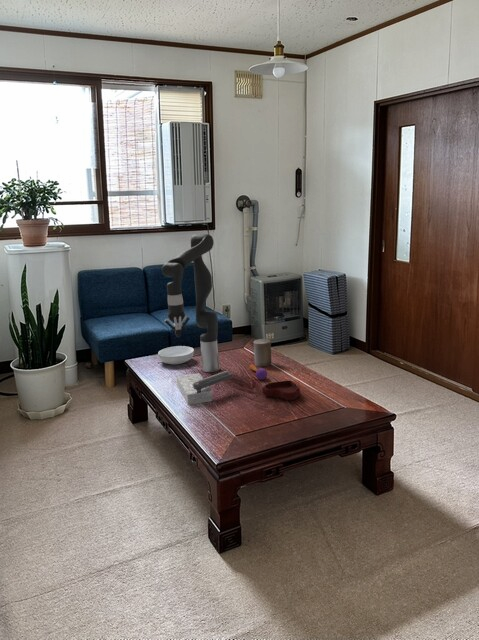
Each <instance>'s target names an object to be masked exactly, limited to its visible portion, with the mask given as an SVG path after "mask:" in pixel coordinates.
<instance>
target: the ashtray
mask: <svg viewBox="0 0 479 640" xmlns="http://www.w3.org/2000/svg"><path fill="white" fill-rule="evenodd" d="M261 391H262V394H263V395H264V396H265V397H266V398H272V397H273V398H276V399H284V400H286V401H288V402H292V401H294V400H295V399H297V398H298V397H299V395H300V393H301V388H300V387H299V386H298V385H297V384H296V383H295V382H294V381H292V380H281V381H275V382H268V383H267V384H265V385H264V386H262V388H261Z"/></svg>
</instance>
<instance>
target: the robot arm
mask: <svg viewBox="0 0 479 640" xmlns="http://www.w3.org/2000/svg"><path fill="white" fill-rule="evenodd" d="M213 248H214V238H213V236H212V235H211V234H207V233H194V234H193V235H192V236H191V238H190V248H187V249H185V250H183V251H182V252H180V253H179V254H178V255H176V257H175V258H172V259H170V260H168V261H166V262H165V263H163V265H162V266H161V274H162V275H163V276H164V277H166V278H173V281H170V282H168V283H167V284H166V291H167V292H166V293H167V308H168V309H167V310H168V315H167V318H166V319H164V323H165V324H167V326H168V327H169V328H170V329H172V330H174V334H175V335H174V336H176V337H177V338H180V337H181V336H182V329H184V328H185V327H186V325H187V324H188V322H189V321H190V317H189V316H187V315H186V313H185V309H184V299H183V294H182V293H183V292H182V291H183V290H182V281H183V275H184V269H185V270H186V268H187V267H188V266H189V265H191V264H192V263H193V273H194V275H193V276H194V279H193V280H194V287H195V323H196V325H197V327H198V328H200V329H206V330H207V331H206V332H205V333H202V334H200V336H199V339H200V340H199V341H200V356H201V358H200V359H201V370H202V372H205V373H214V372H217V371H220V369H221V367H220V354H219V351H218V331H219V330H218V327H219V325H218V324H219V322H218V315H217V314H216V312H214V311H206V302H207V300H208V298H209V295H210V294H211V291H212V289H213V280H212V279H213V277H212V274H211V272H210V269H208V267H207V266H206V264H205V262H204V260H203V255H205V254H206V253H209V252H210V251H211V250H212V249H213ZM170 322H172V323H173V325H172V323H170Z"/></svg>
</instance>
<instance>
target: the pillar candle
mask: <svg viewBox="0 0 479 640" xmlns="http://www.w3.org/2000/svg"><path fill="white" fill-rule="evenodd" d="M253 353H254V354H253V357H254V365H255V366H256V367H261V368H263V367H269V366H272V365H273V364H272V342H271V339H268V338H259V339H255V340H254V341H253Z"/></svg>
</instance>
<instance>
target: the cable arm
mask: <svg viewBox="0 0 479 640" xmlns="http://www.w3.org/2000/svg"><path fill="white" fill-rule="evenodd" d="M233 377H234V376H233V373H231V372H229V371H228V370H225V371H221V372H219V373H216V374H213V375H210V376H208V377H205V378H203V379H201V380H199V381H198V382H195V383H193V388H194V389H203V388H205V387H208V386H209V387H211V386H213V385H216V384H218V383H222V382H225V381H227V380H230V379H232V378H233Z"/></svg>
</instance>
